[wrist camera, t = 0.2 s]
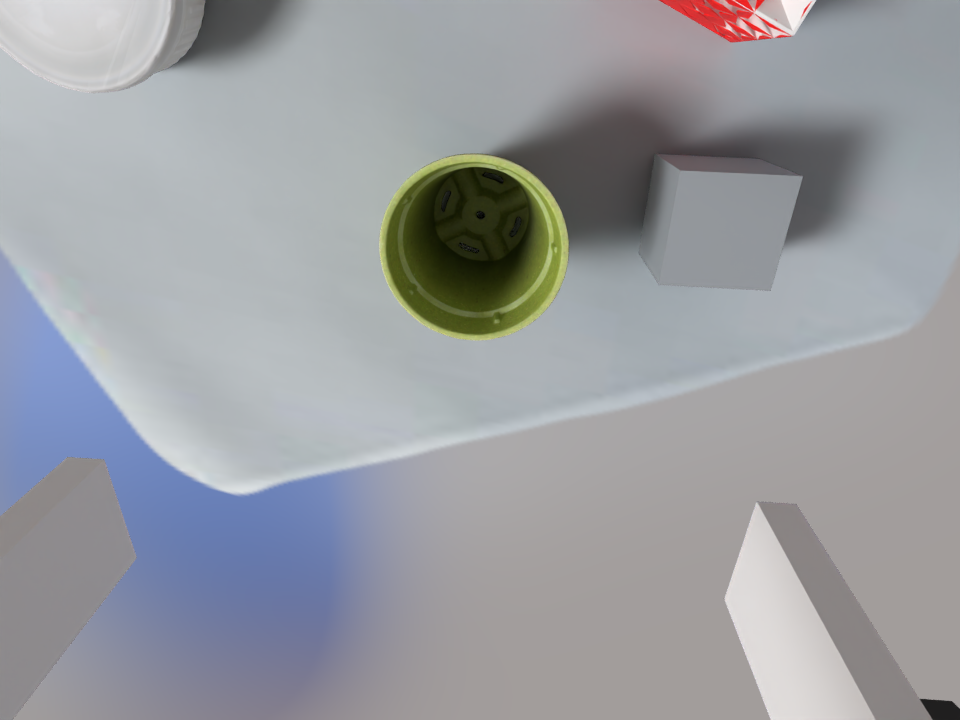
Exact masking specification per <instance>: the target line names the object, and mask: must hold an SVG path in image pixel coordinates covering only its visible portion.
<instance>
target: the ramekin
mask: <svg viewBox="0 0 960 720" xmlns="http://www.w3.org/2000/svg"><path fill="white" fill-rule="evenodd" d="M204 6H205V0H0V47H1V48H2V49H3V50H4V51H5V52H6V53H7V54H9V55H10V56H11V57H12V58H13V59H15V60H16V61H17V62H19V63H20V64H21V65H22V66H24V67H25V68H27V69H28V70H30V71H31V72H33V73H34V74H36V75H38V76H39V77H41V78H43V79H45V80H47V81H49V82H51V83H54V84H56V85H59V86H62V87H65V88H68V89H72V90H76V91H82V92H87V93H103V92H114V91H120V90H124V89H127V88H130V87H133V86H135V85H137V84H139V83H141V82H143V81H145V80H146V79H148V78H149V77H150V76H152V75H153V74H155V73H157V72H159V71H162V70H164V69H167V68H169V67H170V66H171V65H173V64H175V63H177V62H178V60H179V59H180V58H181V57H183V56H184V55H185V54H186V53H187V51H188V50H189V49H190V48H191V47H192V44H193V42H194V41H195V39H196V38H197V36H198V32H199V29H200V28H201V24H202V18H203V15H204Z"/></svg>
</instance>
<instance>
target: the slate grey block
mask: <svg viewBox="0 0 960 720" xmlns="http://www.w3.org/2000/svg"><path fill="white" fill-rule="evenodd" d="M802 178H803V176H801V175H799V174H796V173H794V172H791V171H789V170H786V169H784V168H781V167H779V166H776V165H774V164H771V163H769V162H766V161H764V160H761V159H759V158H738V157H715V156H693V155H671V154H655V157H654V163H653V169H652V175H651V181H650V187H649V193H648V199H647V205H646V211H645V217H644V223H643V229H642V235H641V241H640V247H639V255H640V256H641V258H642V259H643V261H644V262H645V264H646V266H647V267H648V269H649V270H650V272H651V273H652V275H653V277H654V278H655V280H656V281H657V283H658V284H659V285H670V286H689V287H708V288H727V289H746V290H765V291H771V288H772V284H773V281H774V277H775V274H776V270H777V267H778V263H779V259H780V256H781V252H782V249H783V245H784V242H785V238H786V235H787V231H788V228H789V224H790V221H791V217H792V214H793V210H794V207H795V203H796V200H797V196H798V192H799V189H800V185H801V182H802Z"/></svg>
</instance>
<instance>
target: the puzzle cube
mask: <svg viewBox="0 0 960 720" xmlns="http://www.w3.org/2000/svg"><path fill="white" fill-rule="evenodd" d="M659 1H661V2H663V3H664V4H666V5H668V6H670V7H671V8H673V9H675V10H677V11H678V12H680V13H682V14H684V15H685V16H687V17H689V18H690V19H692V20H694V21H696V22H697V23H699V24H701V25H702V26H704V27H706V28H708V29H709V30H711V31H713V32H715V33H716V34H718V35H720V36H721V37H723V38H725V39H727V40H728V41H730V42H741V41H751V40H761V39H771V38H781V37H791V36H794V34H795V33H796V31H797V30H798V28H799V26H800V25H801V23H802V22H803V20H804V19H805V17H806V15H807V14H808V12H809V11H810V9H811V8H812V6H813V4H814V3H815V1H816V0H659Z"/></svg>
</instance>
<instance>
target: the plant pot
mask: <svg viewBox="0 0 960 720" xmlns="http://www.w3.org/2000/svg"><path fill="white" fill-rule="evenodd" d="M485 172H487V173H492V174H495V175H498V176H500V177H502V179H503V180H504V182H503V184H501V183H499V182H497V181H495V180H493V179H490V178H486V177H483V174H484V173H485ZM448 190H449V191H451V195H450V197H449V200H448V202H447V205H446V208H445V211H444V212H443V210H442V208H441V206H442V199H443V196H444V194H445V192H447V191H448ZM479 211H482V212H483V213H484V214H485V217H484V218H483V219H480V218H477V215H476V214H477V212H479ZM518 216H519V217H520V218H521V225H520V227H519V229H518V232H517V233H516V235H515V236H513V237H510V233H511V231H512V229H513V227H514V225H515V221H516V218H517V217H518ZM459 243H464V244H465V245H468V246H470V247H473V248H477V249H479V252H478V253H473V252H471V251H465V250H463V249H462V248H460V247H459ZM379 249H380V259H381V264H382V269H383V273H384V276H385V278H386V281H387V283H388V285H389V287H390V289H391V291H392V293H393V294H394V296H395V298H396V299H397V300H398V302H399V303H400V304H401V305H402V306H403V308H404V309H405V310H406V311H407V312H408V313H409V314H410V315H412V316H413V317H414V318H415V319H416V320H417V321H419V322H420V323H421V324H423V325H424V326H426V327H428V328H430V329H432V330H434V331H436V332H438V333H441V334H444V335H447V336H450V337H454V338H458V339H465V340H490V339H494V338H499V337H503V336H506V335H510V334H512V333H515V332H517V331H519V330H521V329H522V328H524V327H526V326H528V325H529V324H531V323H532V322H534V321H535V320H536V319H537V318H538V317H539V316H540V315H542V313H543V312H545V310H546V309H547V308H548V307H549V306H550V304H551V303H552V301H553V300H554V299H555V297H556V295H557V293H558V291H559V290H560V287H561V285H562V282H563V280H564V277H565V274H566V270H567V265H568V257H569V240H568V232H567V227H566V223H565V220H564V217H563V214H562V211H561V209H560V207H559V205H558V203H557V201H556V200H555V198H554V196H553V195H552V193H551V192H550V191H549V189H548V188H547V187H546V186H545V185H544V183H543V182H541V181H540V180H539V179H538V178H537V177H536V176H535V175H534V174H533V173H531V172H530V171H528V170H527V169H525V168H524V167H522V166H520V165H518V164H516V163H514V162H512V161H510V160H507V159H504V158H501V157H497V156H493V155H487V154H460V155H454V156H450V157H446V158H443V159H439V160H437V161H435V162H432V163H430V164H428V165H427V166H425V167H423V168H421V169H420V170H418V171H417V172H415V173H414V174H413V175H412V176H410V177H409V178H408V179H407V180H406V181H405V182H404V183H403V184H402V186H401V187H400V188H399V189H398V190H397V192H396V193H395V195H394V196H393V198H392V200H391V202H390V203H389V205H388V208H387V209H386V212H385V215H384V218H383V221H382V225H381V231H380V240H379Z"/></svg>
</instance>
